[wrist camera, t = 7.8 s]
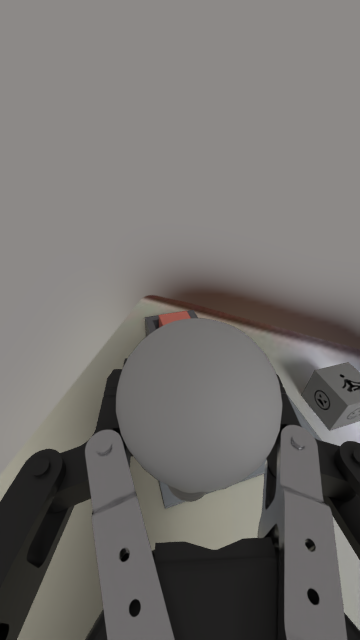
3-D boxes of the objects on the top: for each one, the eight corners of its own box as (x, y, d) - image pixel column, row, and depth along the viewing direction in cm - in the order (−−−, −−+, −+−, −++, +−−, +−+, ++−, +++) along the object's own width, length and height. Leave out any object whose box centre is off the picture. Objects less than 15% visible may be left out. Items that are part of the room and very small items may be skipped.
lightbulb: (146, 426, 17) (132, 282, 11) (237, 436, 17) (282, 294, 10) (120, 542, 12) (65, 413, 6) (247, 560, 12) (345, 444, 5)
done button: (185, 323, 40) (186, 310, 39) (195, 341, 37) (196, 328, 36) (158, 327, 39) (158, 315, 38) (166, 346, 36) (166, 333, 34)
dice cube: (329, 431, 29) (348, 405, 26) (301, 395, 33) (314, 370, 30) (362, 420, 31) (384, 395, 28) (332, 387, 34) (348, 362, 31)
